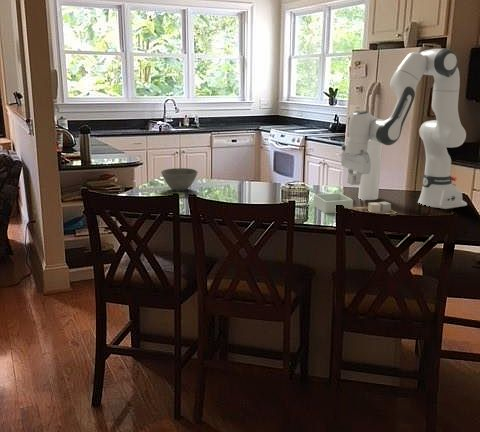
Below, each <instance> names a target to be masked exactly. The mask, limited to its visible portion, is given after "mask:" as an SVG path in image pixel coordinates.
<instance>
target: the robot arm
mask: <svg viewBox="0 0 480 432" xmlns="http://www.w3.org/2000/svg"><path fill="white" fill-rule="evenodd" d="M458 60H459V59H458V55H457V53H456V52H455V51H454V50H452V49H449V48H431V49H422V50H419V51H412V52H409V53H407V54H406V56H405V57H404V58H403V59H402V61H401V62H400V63H399V64H398V66H397V68H396V69H395V71H394V73H393V74H392V76H391V79H390V82H389V87H390V88H389V89H390V91H391V92H392V94H393V95H394V96H395V97H396V98H397V101H396V103H395V105H394V108H393V110H392V111H391V114H390V116H389V118H387V119H383V118H382V119H381V118H378V117H376V116H374V115H373V114H371V113H370V111H369V110H357V111H354V112H352V113H351V114H350V117H349V120H348V130H347V132H348V138H347V140H346V141H347V142H346V143H345V144H343V145H341V159H340V160H341V161H340V162H341V166H342V167H343V168H344V167H345V168H347V173H348V174H354V172H355V174H357V176H356V177H355V181H356V182H360V178H361V176H362V174H369V173H370V170H371V159H370V157H369V154H368V152H367V149H368V140H372V141H376V142H380V143H382V144H383V145H385V146H392V145H394V144H395V143H397V141H398V140H399V139H400V138H401V137H400V136H401V134H402V130H403V126H404V123H405V121H406V120H407V119H406V118H407V117H408V115H409V112H410V110H411V108H412V105H413V102H414V101H415V97H416V88H417V86H418V85H419V82H420V81H421V79H422V77H423V75H425V76H432V77H433V80H434V82H433V86H432V98H431V110H432V111H433V113H434V116H435V118H436V119H433V120H432V119H431V120H426V121H424V122H423V123H422V124H421V125H420V128H419V130H418V133H419V134H418V135H419V137H420V138H421V141H422V142H423V143H422V144H423V146H424V152H425V164H424V165H425V166H424V173H423V176H422V177H423V178H422V187H421V192H420V195H419V198H418V201H417V204H419V203H420V204H419V205H421V204H422V205H421V206H424V205H426V207H429V206H430V207H429V208H438V209H439V208H440V209H444V210H447V209H454V208H459V207H466V206H468V203H467V202H466V201H465V200H463V193H462V190H461V189H459V188H458V187H456V185H454V183H452V182H456V181H457V179H458V177H456V176H451V175H450V174H451V165H452V159H451V158H452V157H451V156H450V154H449V152H448V149H447V148H458V147H460V146H462V145H463V144H464V142H465V141H466V139H467V138H466V137H467V131H466V130H465V128H464V127H463V125H462V123H461V119H460V114H459V94H460V86H461V83H460V81H461V78H460V77H461V76H460V71H459V70H460V69H459V68H458V62H459V61H458Z"/></svg>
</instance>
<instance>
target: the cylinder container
mask: <svg viewBox="0 0 480 432" xmlns="http://www.w3.org/2000/svg"><path fill="white" fill-rule="evenodd" d="M383 145H384V144H382V143H380V142H376V141H372V140H368V149H367V152H368V154H369V157H370V159H371V170H370V173H369V174H362V176H361V180H360V185H359V186H358V197H357V199H358V198H359V199H361V200H360V201H375V200H378V199H379V192H380V191H379V190H380V180H381V179H380V177H381V167H382V166H381V165H382V157H383V156H382V154H383ZM359 199H358V200H359Z"/></svg>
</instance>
